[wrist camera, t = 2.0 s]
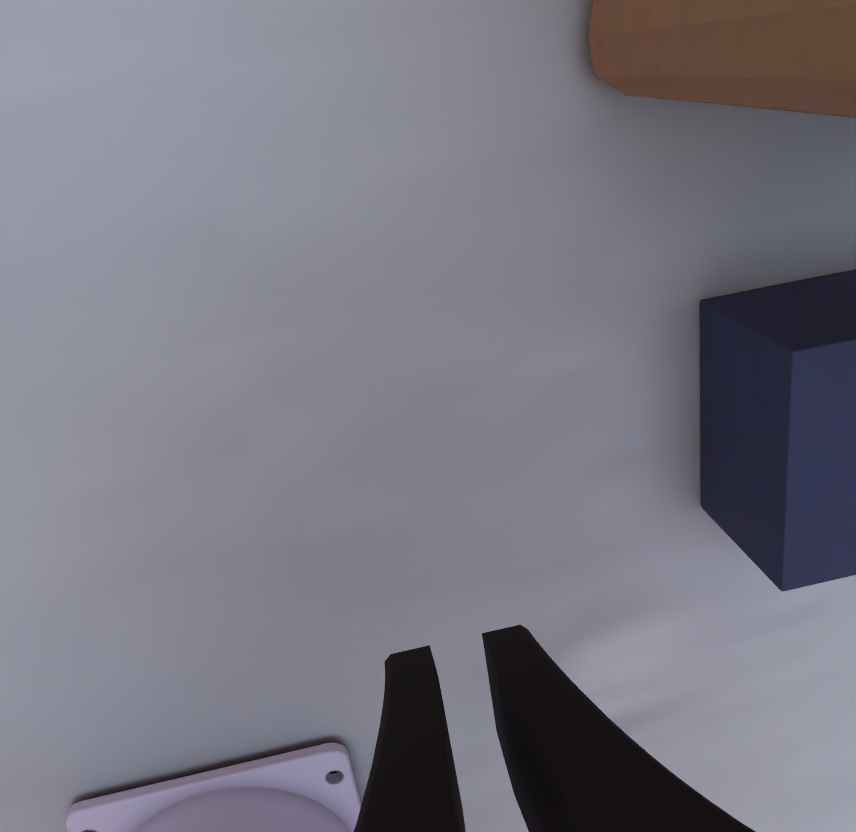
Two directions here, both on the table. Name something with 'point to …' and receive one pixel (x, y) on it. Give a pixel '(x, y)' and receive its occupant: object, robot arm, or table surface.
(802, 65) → the wooden block
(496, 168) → the table surface
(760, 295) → the navy block
